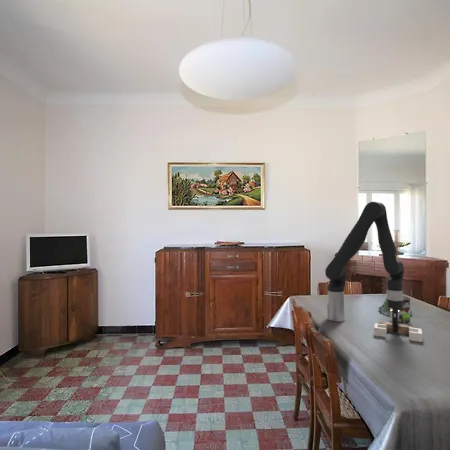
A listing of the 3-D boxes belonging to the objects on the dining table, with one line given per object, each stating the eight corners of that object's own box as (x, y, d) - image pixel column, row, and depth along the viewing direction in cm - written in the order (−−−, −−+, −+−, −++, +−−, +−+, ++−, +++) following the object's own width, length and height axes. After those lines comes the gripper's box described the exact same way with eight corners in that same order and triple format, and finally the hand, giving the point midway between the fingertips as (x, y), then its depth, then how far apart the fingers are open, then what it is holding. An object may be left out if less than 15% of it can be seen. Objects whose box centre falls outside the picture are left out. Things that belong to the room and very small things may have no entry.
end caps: (374, 335, 161) (374, 327, 161) (375, 330, 167) (375, 323, 167) (422, 342, 151) (422, 333, 150) (421, 336, 157) (421, 328, 157)
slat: (378, 330, 169) (378, 322, 169) (379, 328, 172) (379, 321, 172) (412, 336, 159) (412, 328, 159) (413, 333, 162) (413, 326, 162)
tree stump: (381, 317, 192) (377, 287, 196) (377, 316, 210) (375, 288, 214) (415, 318, 186) (411, 287, 190) (409, 316, 204) (405, 288, 208)
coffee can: (415, 324, 177) (414, 298, 177) (399, 326, 174) (399, 300, 174) (400, 318, 187) (399, 294, 187) (385, 320, 184) (385, 296, 184)
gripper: (387, 294, 174) (388, 325, 174) (386, 300, 161) (386, 333, 161) (403, 296, 170) (403, 327, 170) (403, 302, 157) (403, 335, 157)
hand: (395, 330), depth 166 cm, fingers open, 7 cm apart
